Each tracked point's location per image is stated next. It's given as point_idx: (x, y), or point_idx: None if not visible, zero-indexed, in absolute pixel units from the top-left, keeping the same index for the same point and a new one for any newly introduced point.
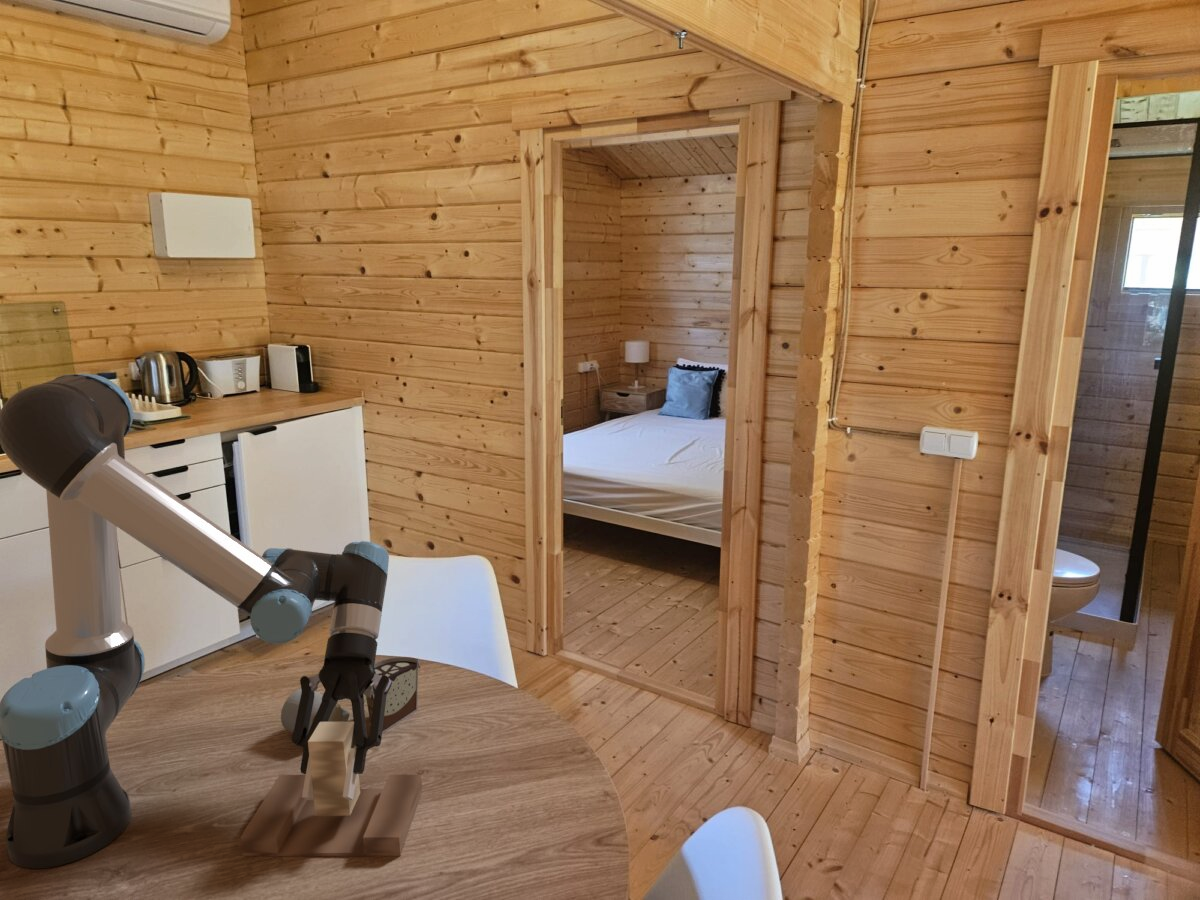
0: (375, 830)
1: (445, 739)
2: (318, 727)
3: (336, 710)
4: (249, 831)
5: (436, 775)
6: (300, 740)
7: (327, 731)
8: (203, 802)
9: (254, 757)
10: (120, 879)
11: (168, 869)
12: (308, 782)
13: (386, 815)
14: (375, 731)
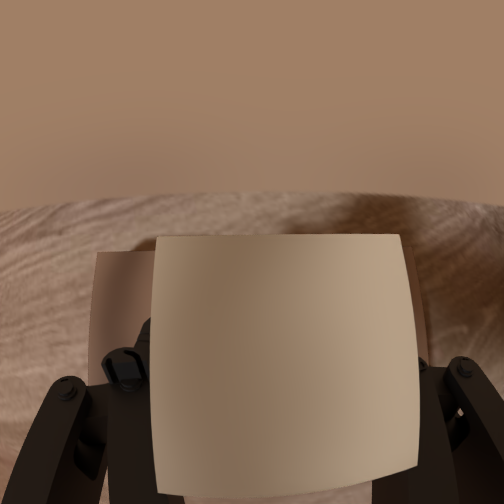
0: (143, 271)
1: None
2: (407, 402)
3: None
4: (406, 262)
5: None
6: (447, 375)
7: (325, 363)
8: (496, 372)
9: None
10: (488, 219)
11: (462, 233)
12: None
13: (129, 320)
14: (46, 416)
